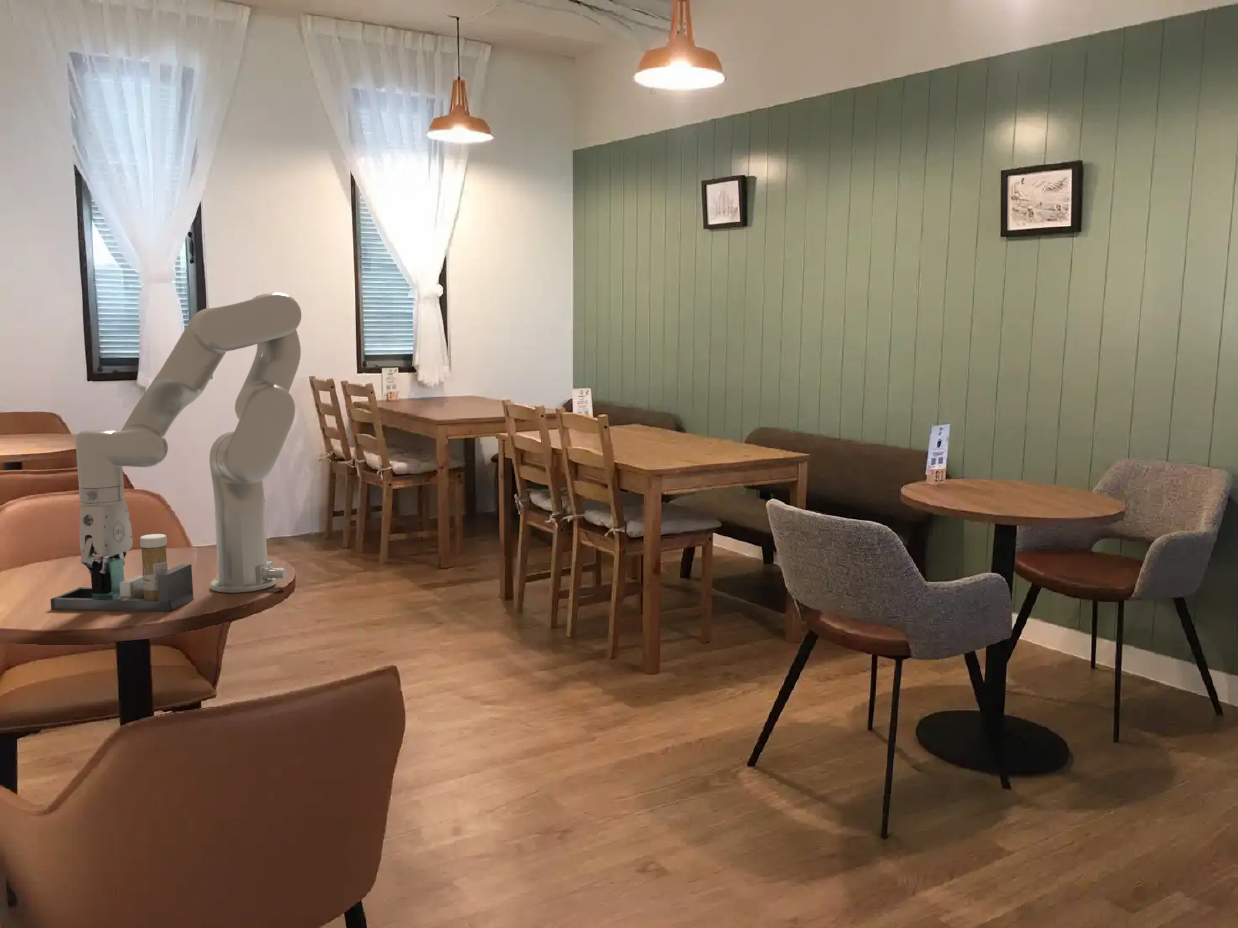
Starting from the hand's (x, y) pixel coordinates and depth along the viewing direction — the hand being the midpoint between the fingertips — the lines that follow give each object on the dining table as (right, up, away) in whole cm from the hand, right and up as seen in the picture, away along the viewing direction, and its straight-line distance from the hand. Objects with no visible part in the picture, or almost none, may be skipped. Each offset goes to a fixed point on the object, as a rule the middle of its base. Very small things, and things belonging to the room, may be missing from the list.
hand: (108, 589), depth 192 cm
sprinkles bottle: (+9, -3, 0) cm, 10 cm away
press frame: (+3, -3, 0) cm, 4 cm away
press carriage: (+2, -3, 0) cm, 4 cm away
